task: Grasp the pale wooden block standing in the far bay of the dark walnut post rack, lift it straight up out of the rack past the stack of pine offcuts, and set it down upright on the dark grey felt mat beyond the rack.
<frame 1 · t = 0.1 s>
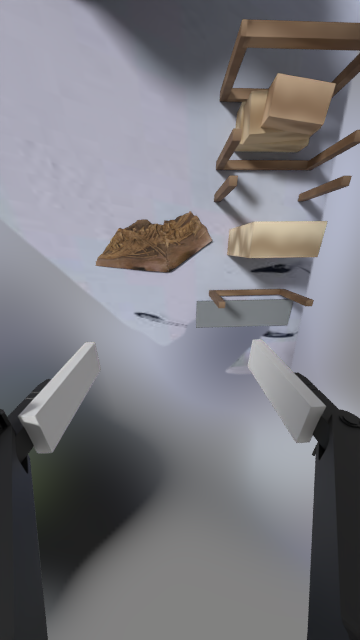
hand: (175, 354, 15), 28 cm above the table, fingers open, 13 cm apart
offcut a: (267, 134, 31), on the table, touching offcut b
rack: (258, 209, 35), on the table
wooden fragment: (152, 248, 37), on the table
offcut c: (290, 112, 25), point 6 cm above the table, touching offcut b
felt mat: (243, 313, 44), on the table
pale wooden block: (253, 242, 37), on the table
offcut b: (276, 123, 28), point 2 cm above the table, touching offcut a, offcut c
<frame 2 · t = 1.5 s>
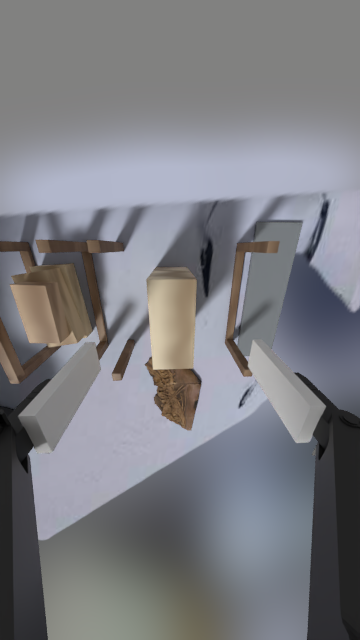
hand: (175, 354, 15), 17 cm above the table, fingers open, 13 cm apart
offcut a: (70, 300, 30), on the table, touching offcut b
rack: (137, 299, 30), on the table
wooden fragment: (177, 391, 39), on the table
offcut c: (49, 310, 24), point 5 cm above the table
felt mat: (263, 298, 31), on the table
pale wooden block: (172, 299, 30), on the table
offcut b: (59, 305, 27), point 2 cm above the table, touching offcut a
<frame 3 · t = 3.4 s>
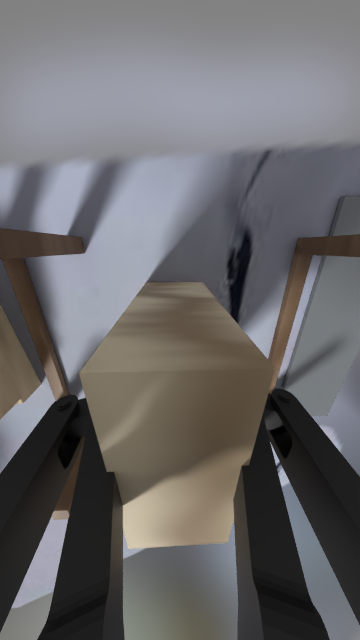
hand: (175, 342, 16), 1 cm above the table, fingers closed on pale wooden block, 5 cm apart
rack: (115, 337, 17), on the table
felt mat: (330, 333, 18), on the table
pale wooden block: (174, 336, 18), on the table, touching gripper
when the fingers open (3 cm above the table, at t = 9.7 s): pale wooden block drops 1 cm, resting on felt mat.
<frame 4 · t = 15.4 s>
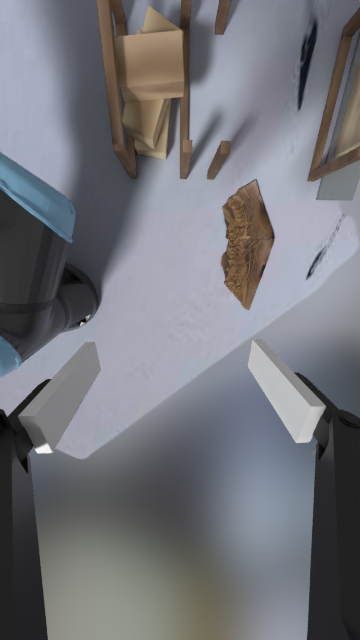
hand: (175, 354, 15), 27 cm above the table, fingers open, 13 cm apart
offcut a: (154, 111, 28), on the table, touching offcut b
rack: (226, 110, 28), on the table
wooden fragment: (245, 254, 37), on the table
offcut c: (151, 78, 23), point 6 cm above the table, touching offcut b
felt mat: (358, 115, 29), on the table
offcut b: (152, 97, 25), point 2 cm above the table, touching offcut a, offcut c
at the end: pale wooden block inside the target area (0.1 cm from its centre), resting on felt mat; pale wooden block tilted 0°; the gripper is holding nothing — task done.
